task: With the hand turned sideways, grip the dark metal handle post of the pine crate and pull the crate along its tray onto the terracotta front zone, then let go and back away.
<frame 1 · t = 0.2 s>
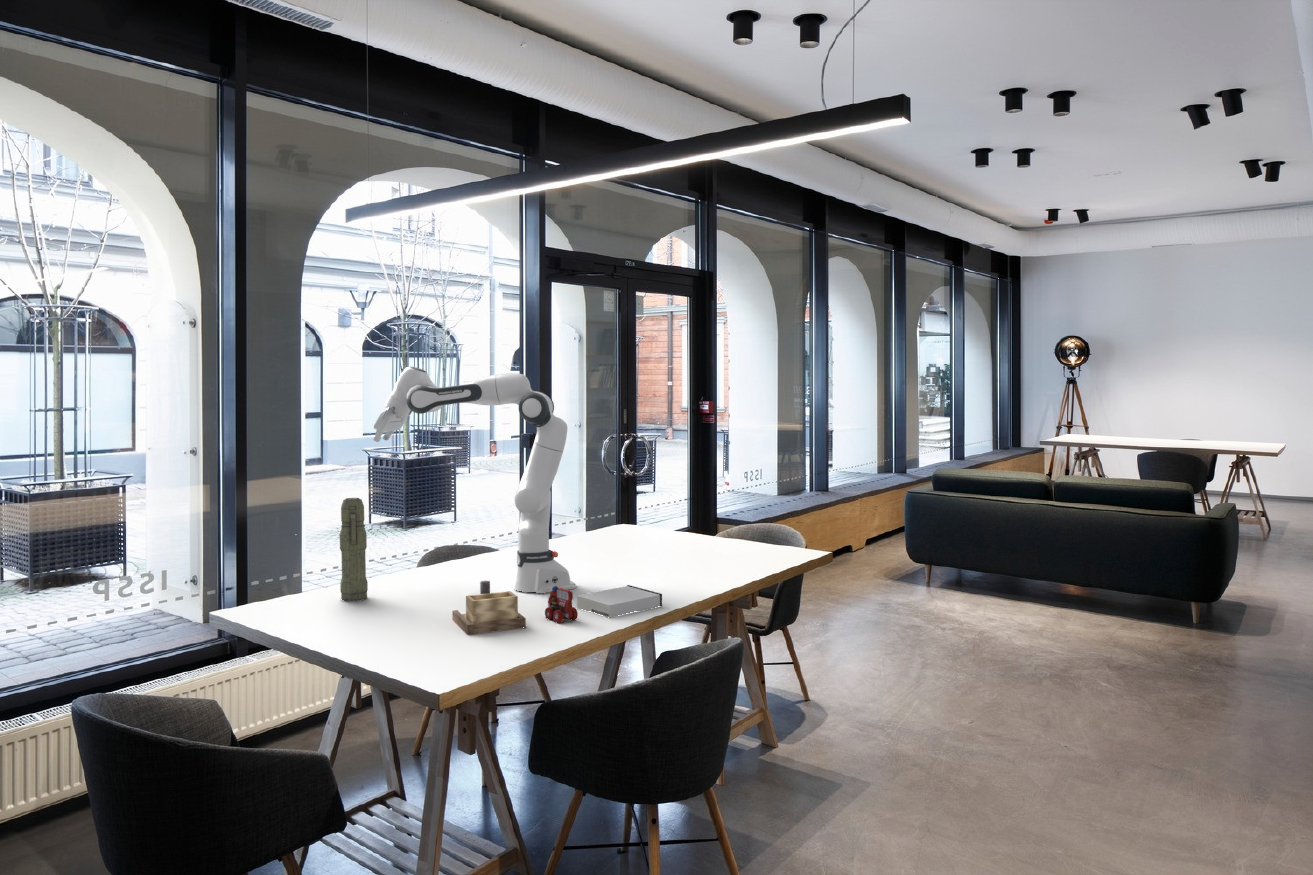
hand: (380, 440, 327), 54 cm above the table, tool tilted 30°, fingers open, 8 cm apart
crate: (489, 602, 278), point 7 cm above the table, slide at 0.0 cm
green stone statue: (354, 599, 313), on the table
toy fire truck: (560, 620, 285), on the table
tray: (488, 623, 280), on the table
disc drive: (619, 609, 300), on the table
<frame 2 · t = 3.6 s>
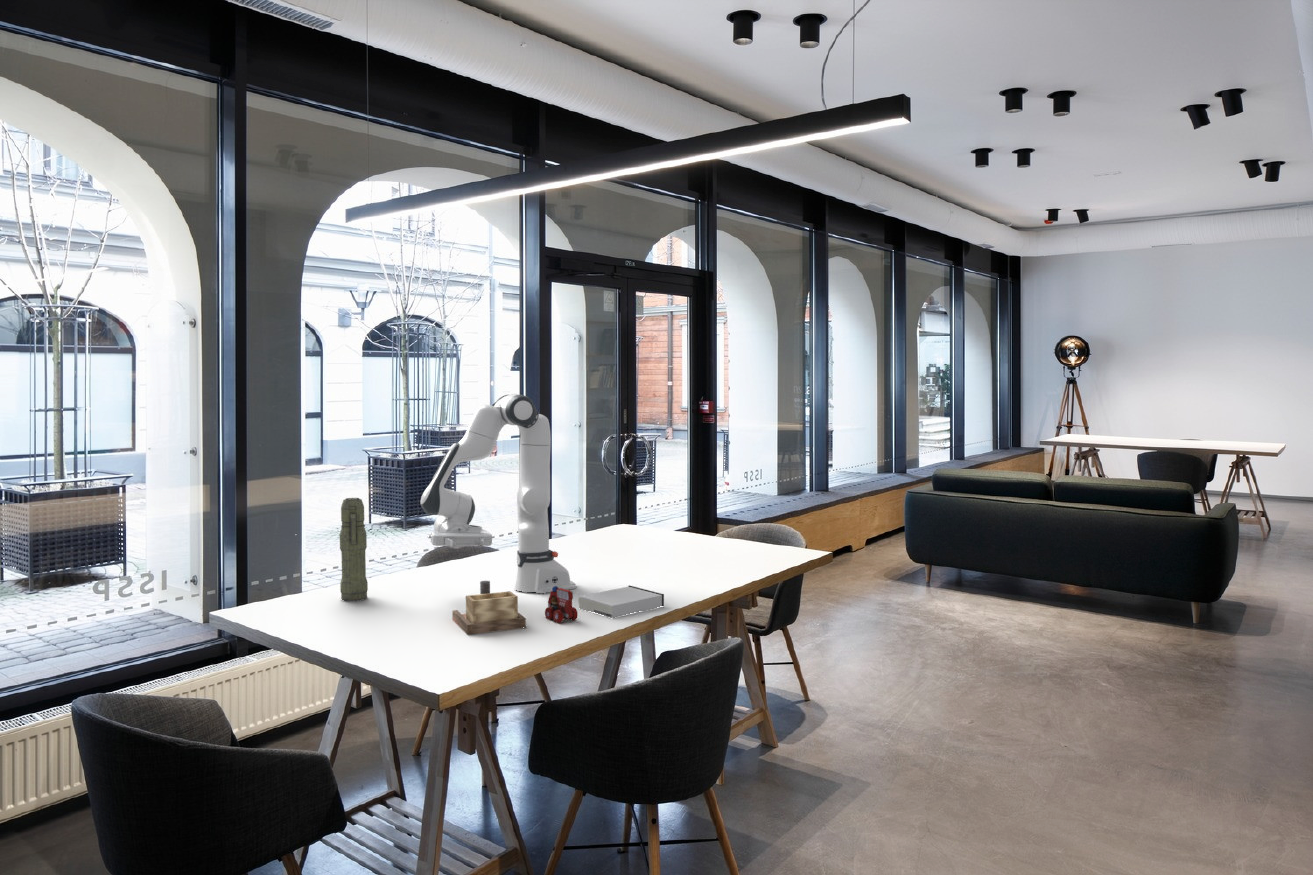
hand: (467, 543, 294), 22 cm above the table, tool horizontal, fingers open, 8 cm apart
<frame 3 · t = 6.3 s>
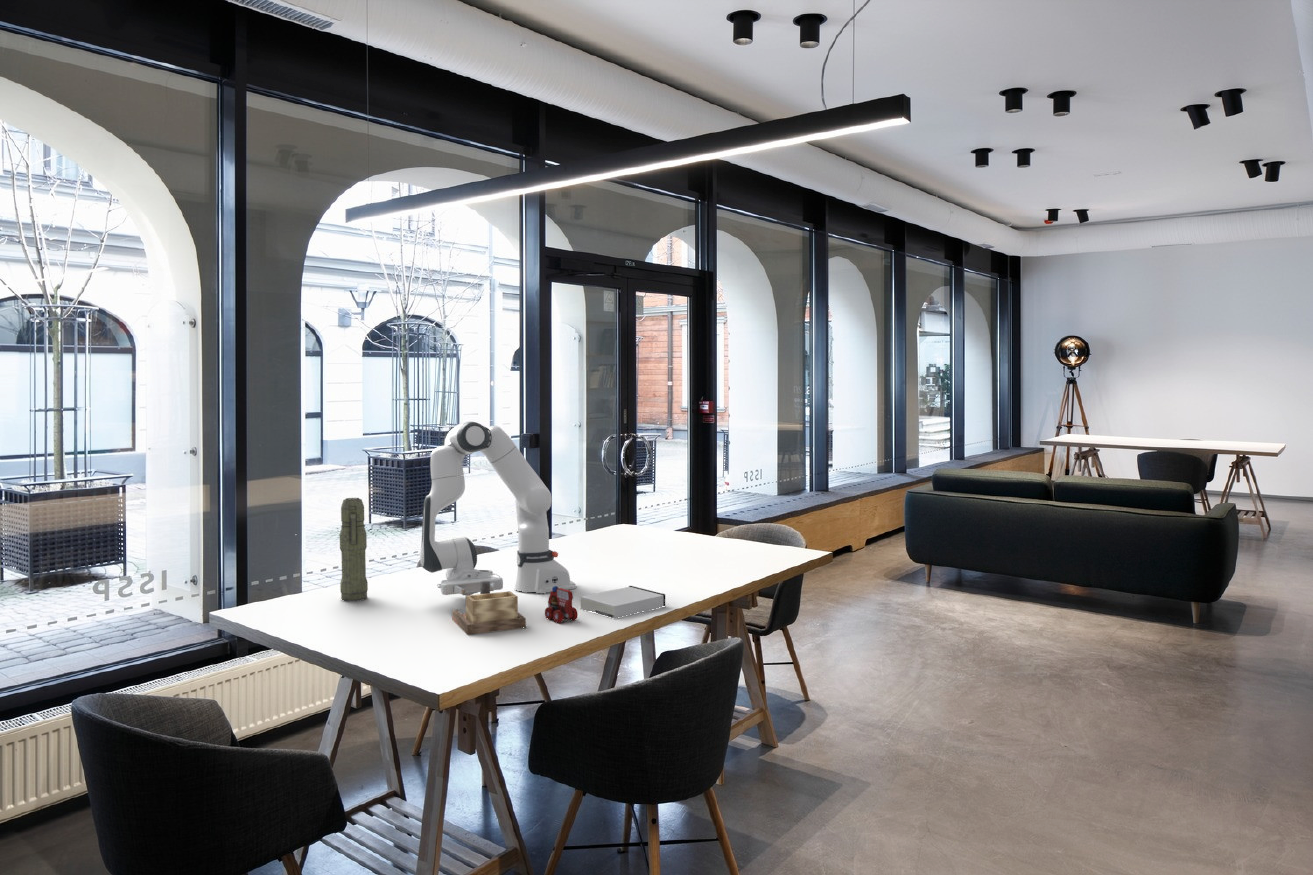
hand: (477, 590, 290), 8 cm above the table, tool horizontal, fingers open, 8 cm apart
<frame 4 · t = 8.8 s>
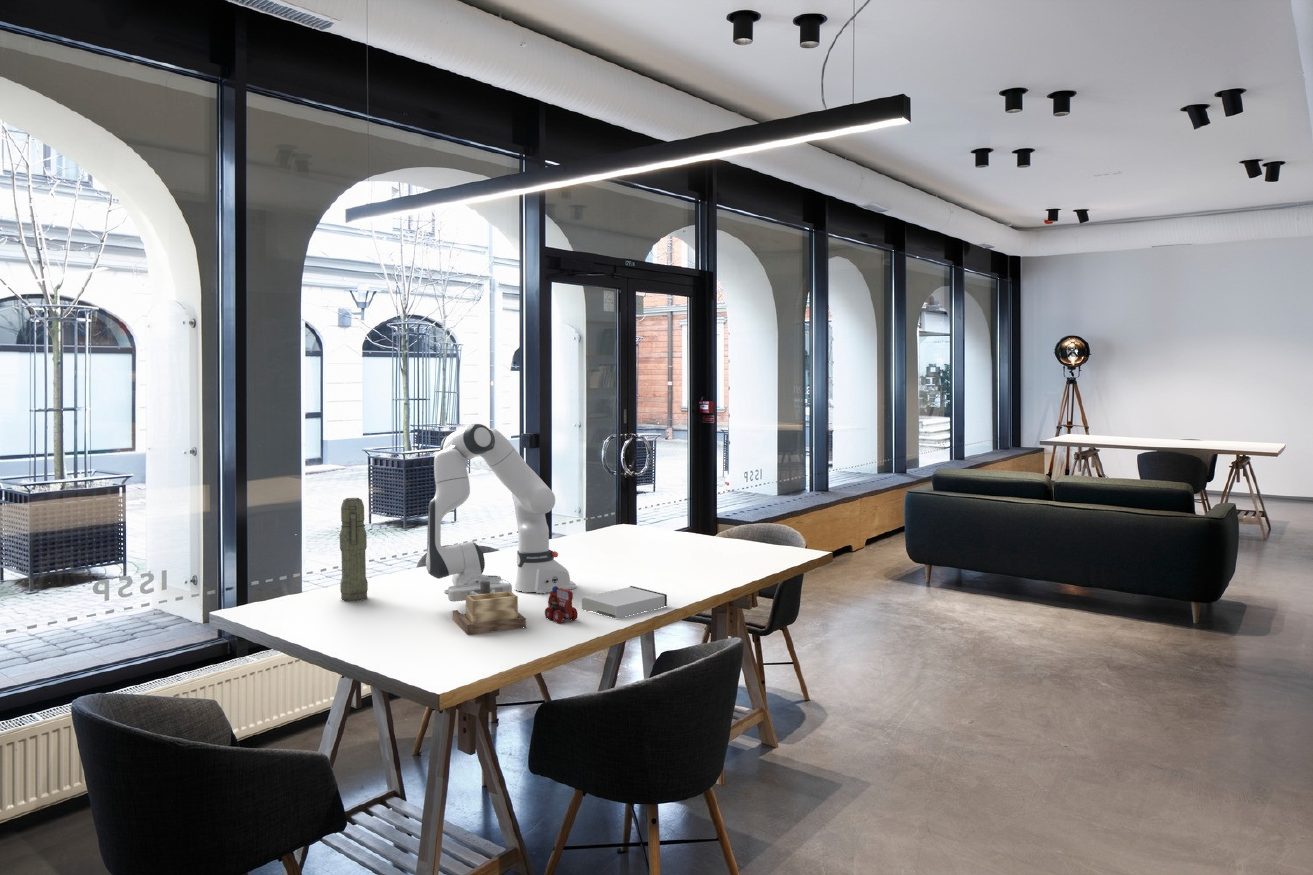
hand: (486, 596, 281), 8 cm above the table, tool horizontal, fingers closed on crate, 3 cm apart
crate: (489, 602, 278), point 7 cm above the table, slide at 0.0 cm, touching gripper
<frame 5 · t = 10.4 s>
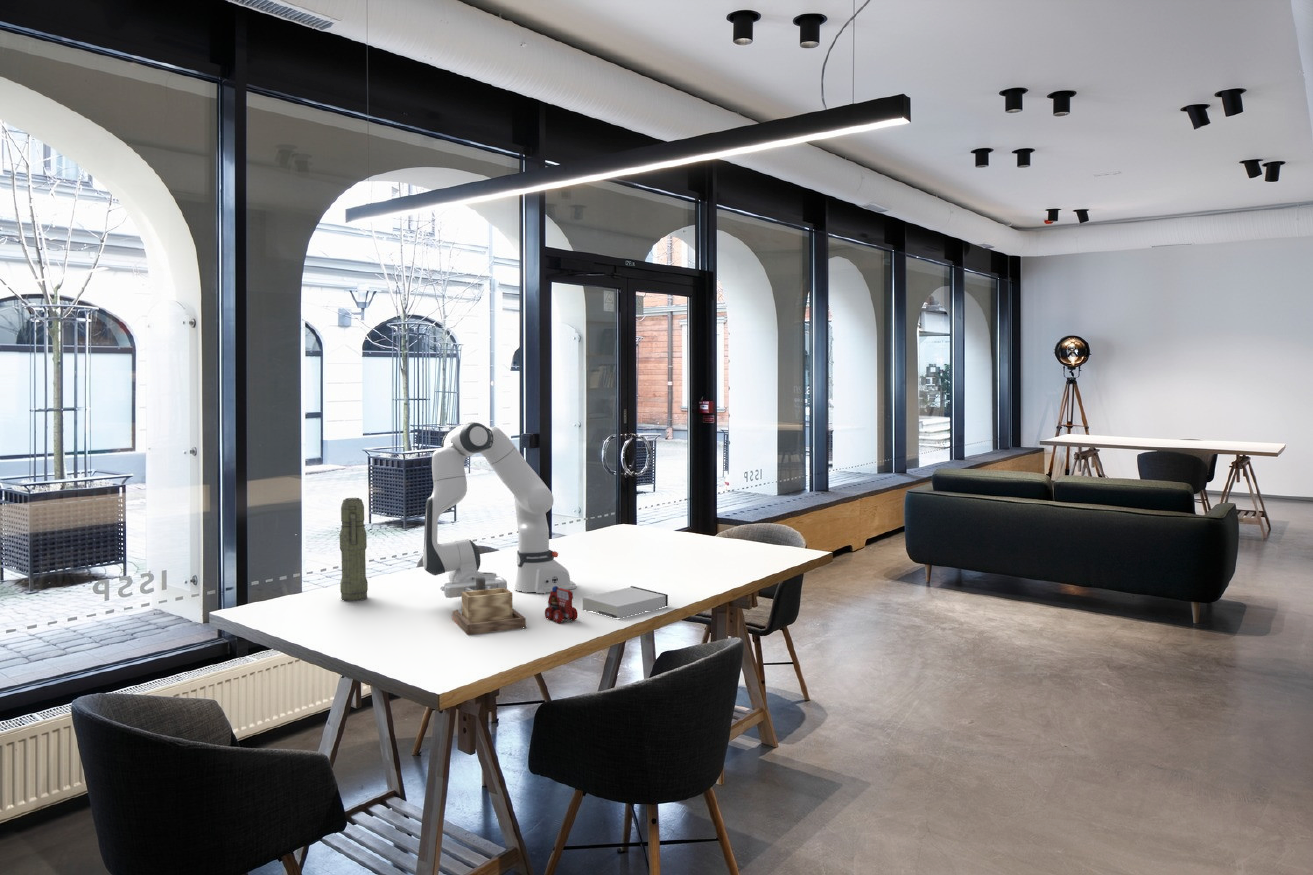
hand: (481, 592, 286), 8 cm above the table, tool horizontal, fingers closed on crate, 3 cm apart
crate: (484, 598, 283), point 7 cm above the table, slide at 5.5 cm, touching gripper
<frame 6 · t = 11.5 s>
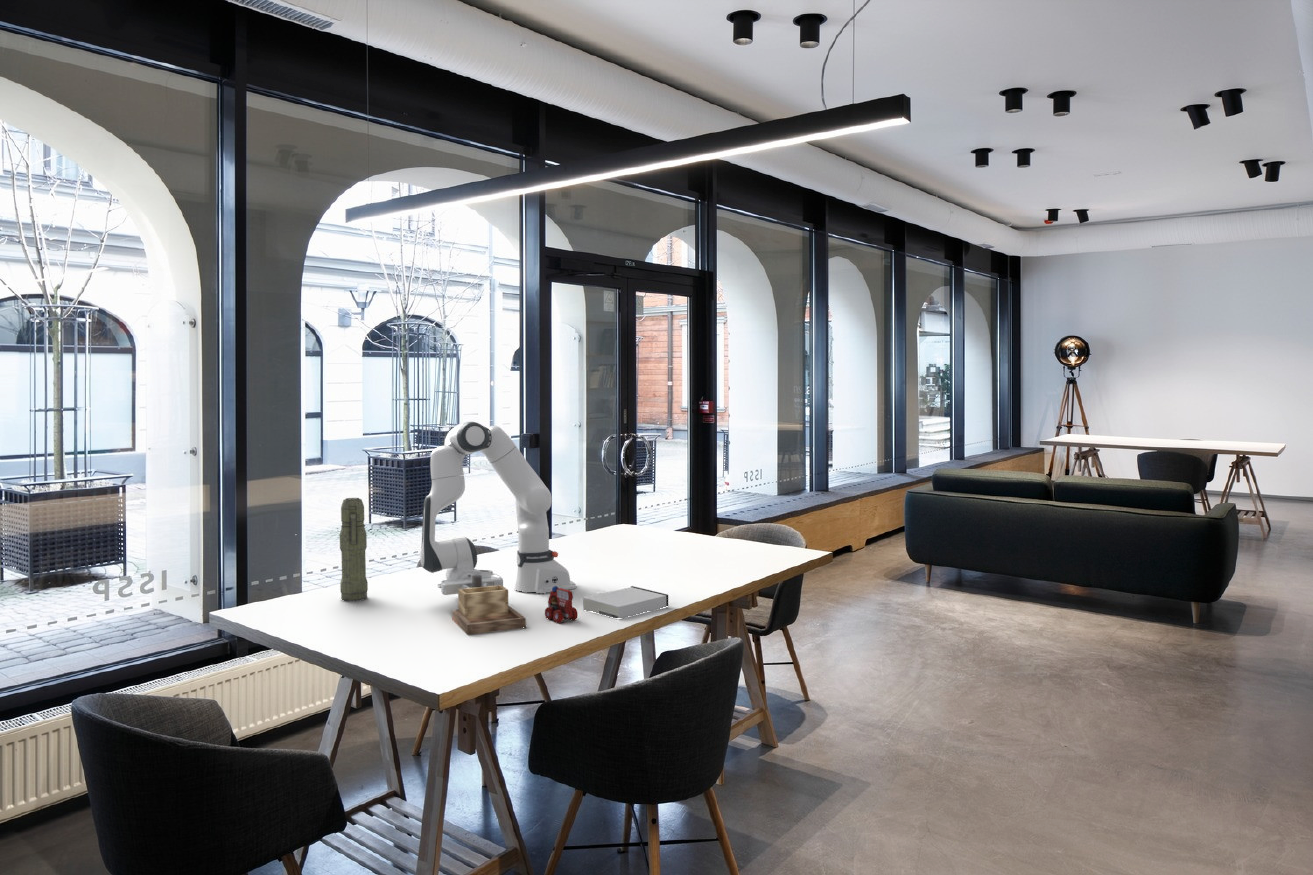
hand: (477, 589, 290), 8 cm above the table, tool horizontal, fingers closed on crate, 3 cm apart
crate: (481, 595, 287), point 7 cm above the table, slide at 9.9 cm, touching gripper
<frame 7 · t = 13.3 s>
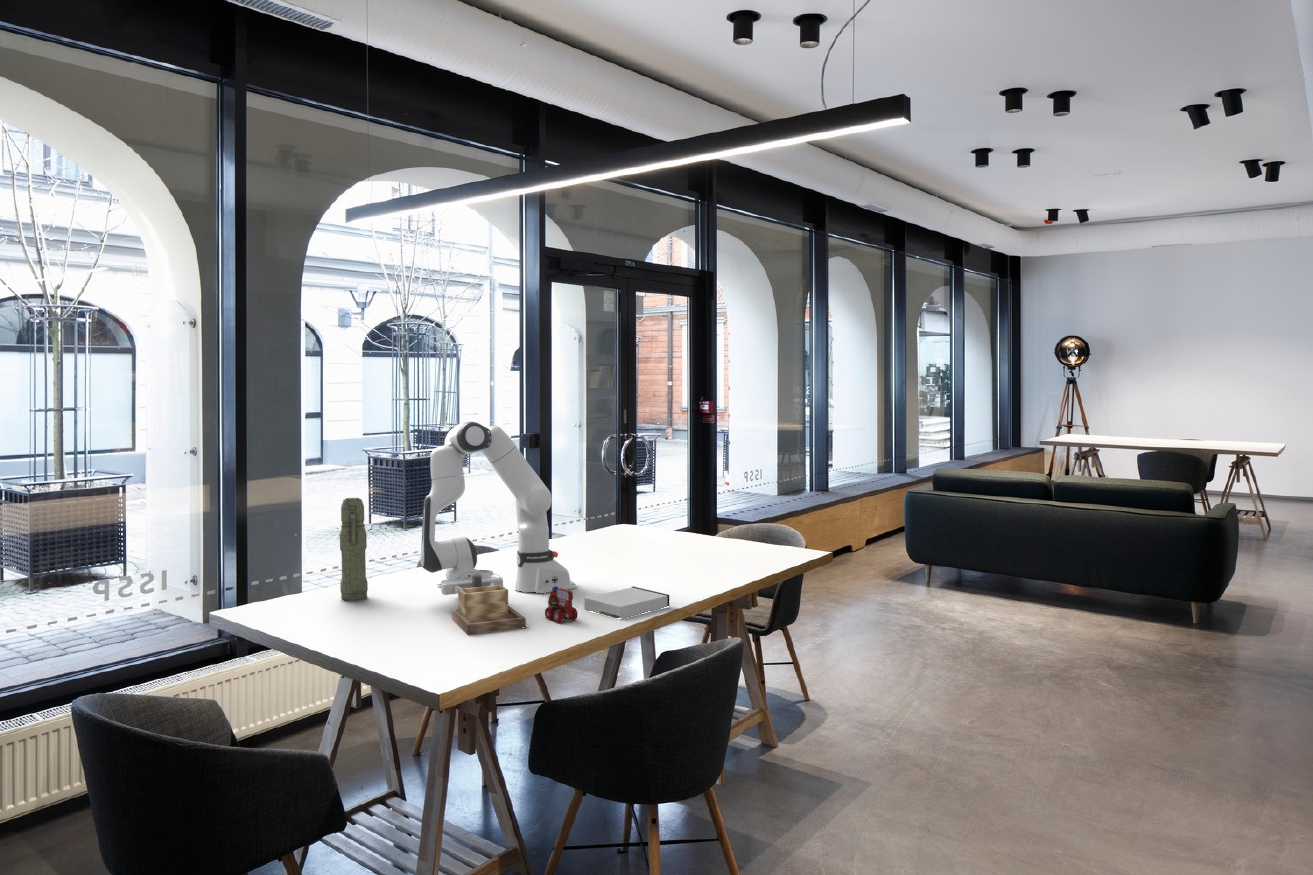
hand: (477, 589, 290), 8 cm above the table, tool horizontal, fingers open, 8 cm apart
crate: (481, 595, 287), point 7 cm above the table, slide at 10.0 cm
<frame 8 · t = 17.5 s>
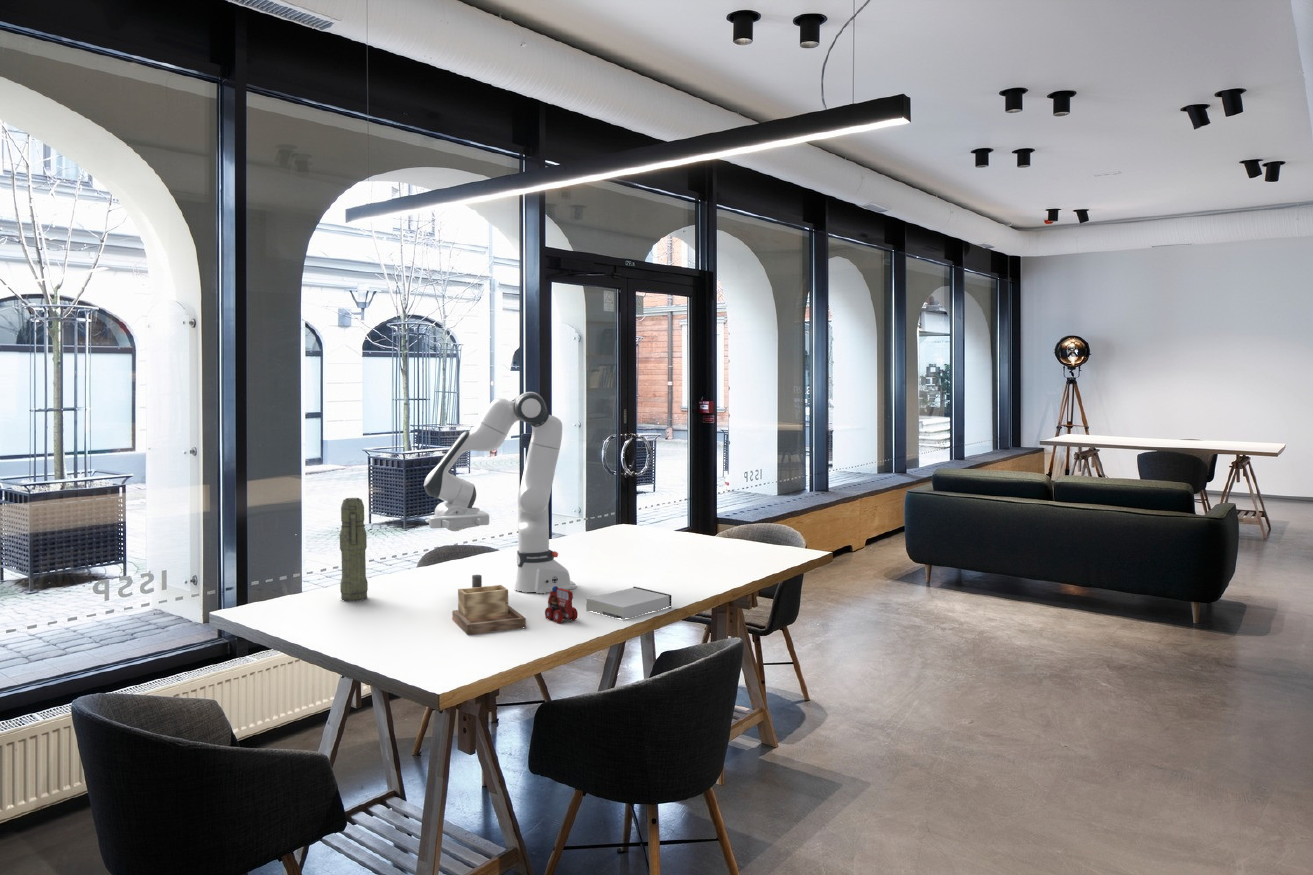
hand: (464, 523, 300), 28 cm above the table, tool horizontal, fingers open, 8 cm apart
at the end: crate slide at 10.0 cm; the gripper is holding nothing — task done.
